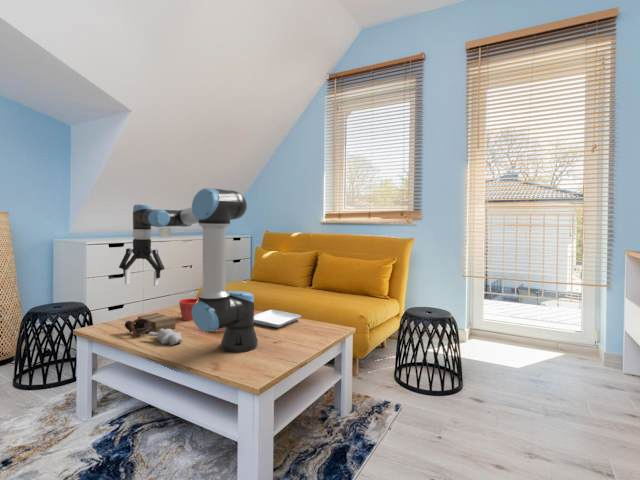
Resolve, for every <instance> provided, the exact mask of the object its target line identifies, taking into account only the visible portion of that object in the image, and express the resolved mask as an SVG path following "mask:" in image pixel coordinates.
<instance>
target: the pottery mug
mask: <svg viewBox="0 0 640 480" xmlns="http://www.w3.org/2000/svg"><path fill="white" fill-rule="evenodd" d="M146 322H147V326H146V327H145V326H144V324H145V323H146ZM124 326H125V327H124V328H126V330H128V332H129V333H130V334H131V333H132V334H131V336H132V338H136V337H137V336H140V335H143V334H146V333H147V332H149V331H148V330H149V329H151V327H150V323H149V321H148V320H147V319H143V318H139V319H138V318H136V319H133V320H126V322H125V323H124Z"/></svg>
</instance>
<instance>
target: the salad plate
mask: <svg viewBox="0 0 640 480" xmlns="http://www.w3.org/2000/svg"><path fill="white" fill-rule="evenodd" d="M301 317H302V315H301V314H296V313H292V312H286V311H283V310H275V309H269V310H268V309H267V310H266V311H262V312H260V313H256V314H254V324H256V325H261V326H265V327H271V328H281V327H284V326H286V325H289V324H291V323H293V322H296V321H297V320H299V319H301Z"/></svg>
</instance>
